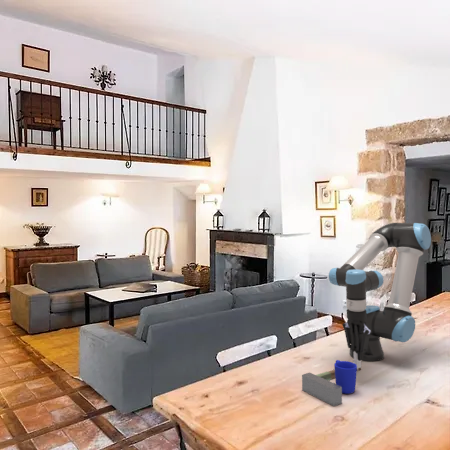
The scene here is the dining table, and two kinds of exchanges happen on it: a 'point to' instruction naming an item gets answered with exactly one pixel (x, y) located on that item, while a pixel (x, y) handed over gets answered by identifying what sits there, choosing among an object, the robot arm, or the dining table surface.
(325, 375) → the brown and green stick
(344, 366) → the mug
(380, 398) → the dining table surface
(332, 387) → the grooved grey block
